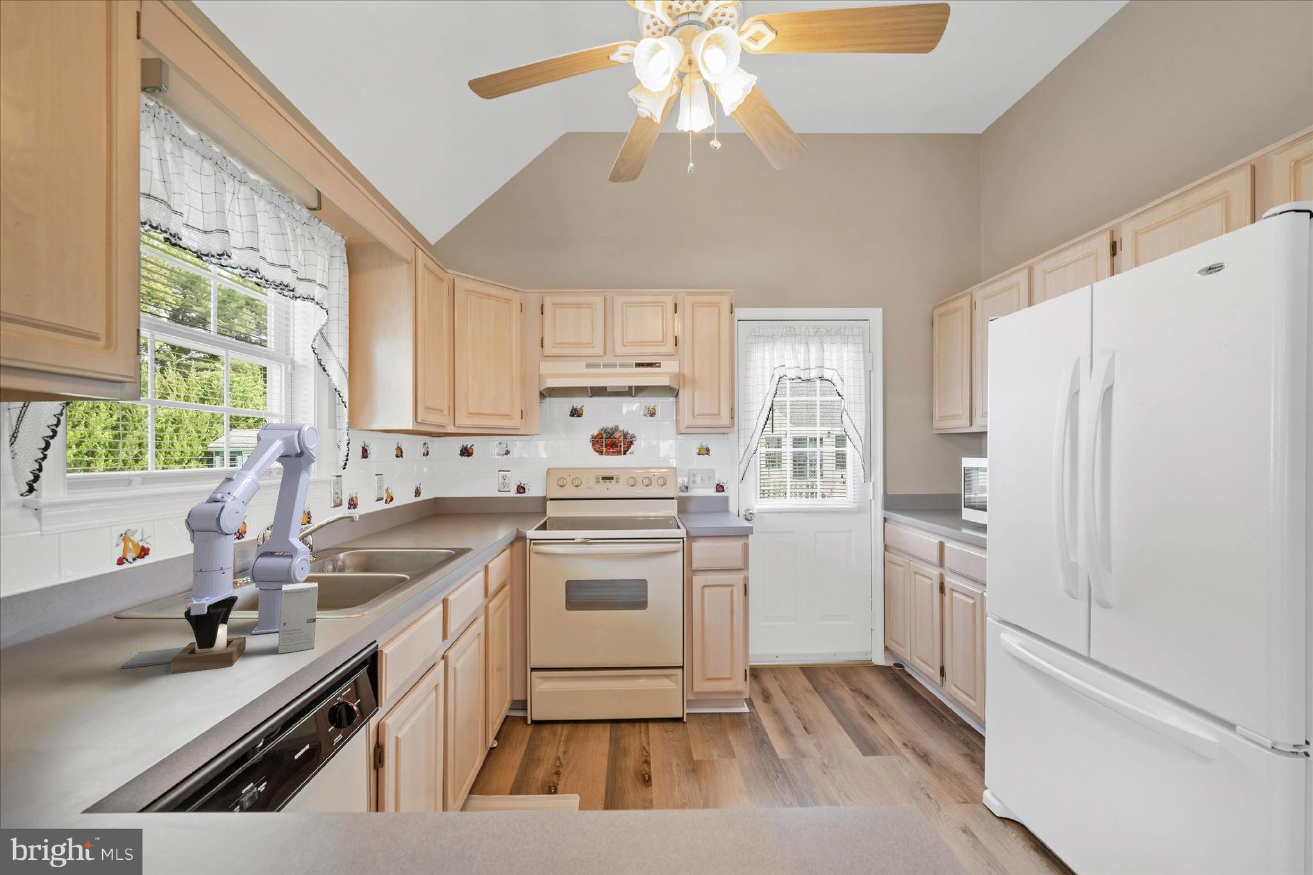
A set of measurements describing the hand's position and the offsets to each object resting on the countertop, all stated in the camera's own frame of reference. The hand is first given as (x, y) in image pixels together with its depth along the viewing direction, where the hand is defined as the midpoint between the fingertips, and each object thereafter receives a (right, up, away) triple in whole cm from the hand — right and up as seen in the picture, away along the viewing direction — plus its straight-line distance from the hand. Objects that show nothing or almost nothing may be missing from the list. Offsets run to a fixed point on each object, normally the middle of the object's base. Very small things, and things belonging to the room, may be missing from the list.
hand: (211, 643), depth 98 cm
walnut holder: (0, -3, 0) cm, 3 cm away
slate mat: (-11, -3, +1) cm, 11 cm away
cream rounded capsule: (0, -3, 0) cm, 3 cm away
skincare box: (+11, -4, +7) cm, 14 cm away
